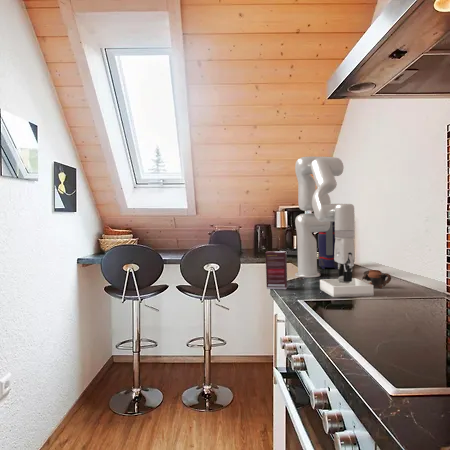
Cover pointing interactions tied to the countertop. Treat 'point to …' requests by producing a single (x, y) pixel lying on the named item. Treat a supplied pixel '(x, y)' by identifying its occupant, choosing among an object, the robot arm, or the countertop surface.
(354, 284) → the bin
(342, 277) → the figurine
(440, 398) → the countertop surface
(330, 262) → the navy blue canister
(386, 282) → the brown two-tone ridged part
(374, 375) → the countertop surface
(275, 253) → the supplement box
